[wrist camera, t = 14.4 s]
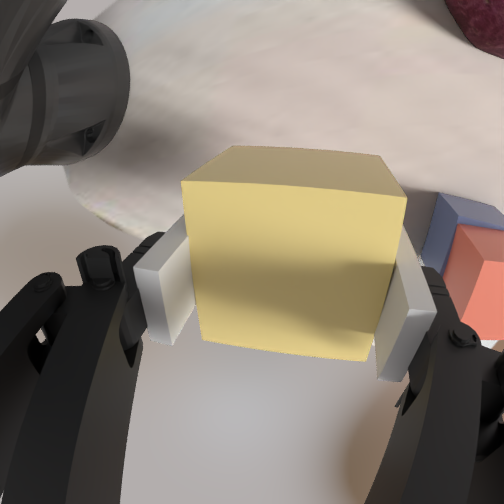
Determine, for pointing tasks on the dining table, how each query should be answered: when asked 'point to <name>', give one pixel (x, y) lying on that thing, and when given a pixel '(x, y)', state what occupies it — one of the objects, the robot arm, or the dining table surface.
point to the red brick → (478, 279)
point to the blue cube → (455, 226)
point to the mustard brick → (292, 248)
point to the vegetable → (481, 23)
